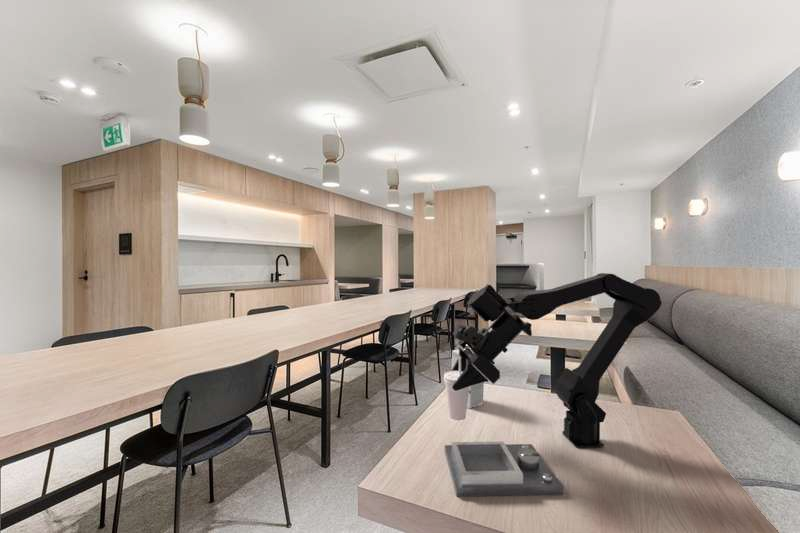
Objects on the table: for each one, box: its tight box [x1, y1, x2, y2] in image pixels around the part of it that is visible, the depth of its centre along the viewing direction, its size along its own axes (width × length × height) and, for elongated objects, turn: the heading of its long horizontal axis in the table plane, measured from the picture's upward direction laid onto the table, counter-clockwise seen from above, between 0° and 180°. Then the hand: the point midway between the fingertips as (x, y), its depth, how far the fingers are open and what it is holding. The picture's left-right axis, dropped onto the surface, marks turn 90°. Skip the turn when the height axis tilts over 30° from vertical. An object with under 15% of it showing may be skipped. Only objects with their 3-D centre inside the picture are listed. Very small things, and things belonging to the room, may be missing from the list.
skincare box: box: [450, 349, 485, 409], centre depth 101 cm, size 8×6×15 cm
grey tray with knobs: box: [444, 441, 564, 497], centre depth 68 cm, size 19×14×4 cm
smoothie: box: [443, 357, 470, 421], centre depth 79 cm, size 6×6×14 cm
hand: (451, 383), depth 79 cm, fingers closed on smoothie, 6 cm apart
